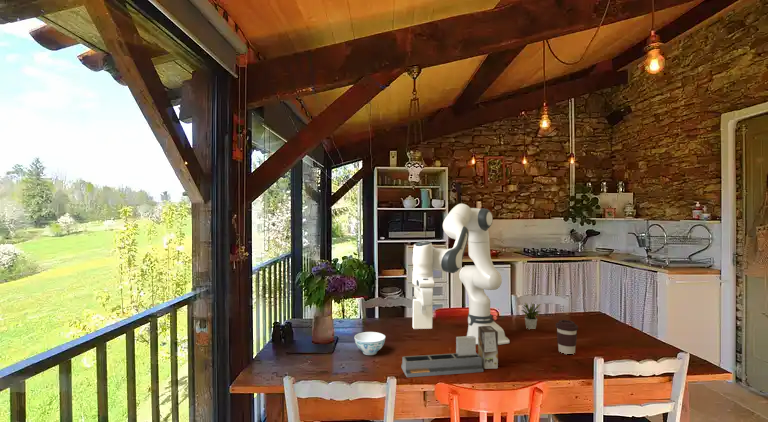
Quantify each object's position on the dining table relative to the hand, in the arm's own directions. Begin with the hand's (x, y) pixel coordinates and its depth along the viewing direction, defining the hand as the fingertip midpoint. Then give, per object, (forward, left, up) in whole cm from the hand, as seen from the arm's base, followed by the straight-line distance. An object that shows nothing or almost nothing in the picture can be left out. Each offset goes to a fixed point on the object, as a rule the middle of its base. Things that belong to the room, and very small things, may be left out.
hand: (422, 312), depth 161 cm
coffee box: (-31, -3, -26) cm, 41 cm away
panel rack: (-9, -1, -26) cm, 27 cm away
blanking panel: (0, 0, -7) cm, 7 cm away
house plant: (-79, -50, -26) cm, 97 cm away
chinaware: (+19, -26, -26) cm, 41 cm away
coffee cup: (-76, -11, -26) cm, 81 cm away
